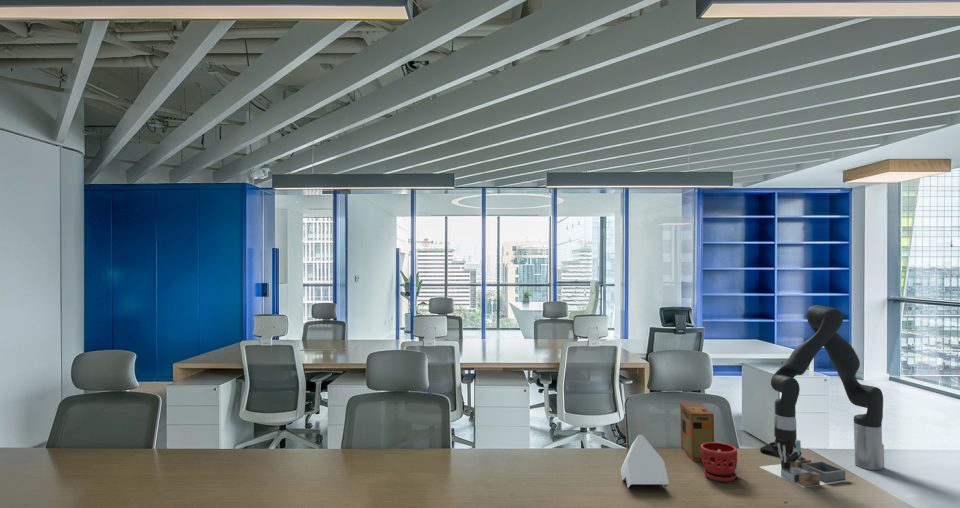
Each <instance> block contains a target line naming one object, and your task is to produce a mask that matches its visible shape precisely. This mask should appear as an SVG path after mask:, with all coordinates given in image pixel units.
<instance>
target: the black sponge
mask: <svg viewBox="0 0 960 508" xmlns="http://www.w3.org/2000/svg"><path fill="white" fill-rule="evenodd" d="M759 448H760V449H759V452H760V453H762V454H765V455H770V456H772V457H777V456H776V454H775V452H774V450H773V448H772V447H771V445H770V443H768V444H766V445H763V446H762V447H759ZM777 452H778V451H777ZM778 454H779V452H778Z"/></svg>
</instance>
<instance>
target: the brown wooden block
mask: <svg viewBox="0 0 960 508" xmlns="http://www.w3.org/2000/svg"><path fill="white" fill-rule="evenodd" d="M799 484H800V485H802V486H804V487H803V488H809V487H808V486H810V487H817V486H816V485H818V486H821V485H820V474H818V473H816V472H807V473H799Z"/></svg>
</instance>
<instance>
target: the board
mask: <svg viewBox="0 0 960 508" xmlns="http://www.w3.org/2000/svg"><path fill="white" fill-rule="evenodd" d="M759 468H761V469H762V470H765V471H767V472H768V473H770V474H772V475H775V476H778V477H779V478H782V477H781V469H782V468H781V463H779V464H770V465H762V466H759ZM782 479H783V480H785V481H788V482H791V481H789V480H787V479H785V478H782ZM845 482H848V480H846V479H845V480H842V481H835V482H828V483H824V482H822V481H820V485H816V486H815V487H817V486H823V485H830V484H832V485H833V484H838V483H845ZM791 483H793V482H791ZM793 484H795V485H796V486H799V487H801V488H805V487H804V486H802V485H800V484H799V483H793ZM809 487H811V486H808V487H807V488H809Z"/></svg>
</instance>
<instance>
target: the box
mask: <svg viewBox="0 0 960 508" xmlns="http://www.w3.org/2000/svg"><path fill="white" fill-rule="evenodd" d="M708 442H715V414H714V413H713V412H712V411H710V410H709V409H708V407H705V406H704V405H703V404H701V403H680V448H681V449H682V450H683V451H684V450H685V451H684V452H685V454H686V455H687V456H688V457H689V458H690V460H691V461H692V460H693V461H694V462H702V458H701V444H703V443H708ZM712 451H713V450H712ZM693 461H692V462H693Z"/></svg>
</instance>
